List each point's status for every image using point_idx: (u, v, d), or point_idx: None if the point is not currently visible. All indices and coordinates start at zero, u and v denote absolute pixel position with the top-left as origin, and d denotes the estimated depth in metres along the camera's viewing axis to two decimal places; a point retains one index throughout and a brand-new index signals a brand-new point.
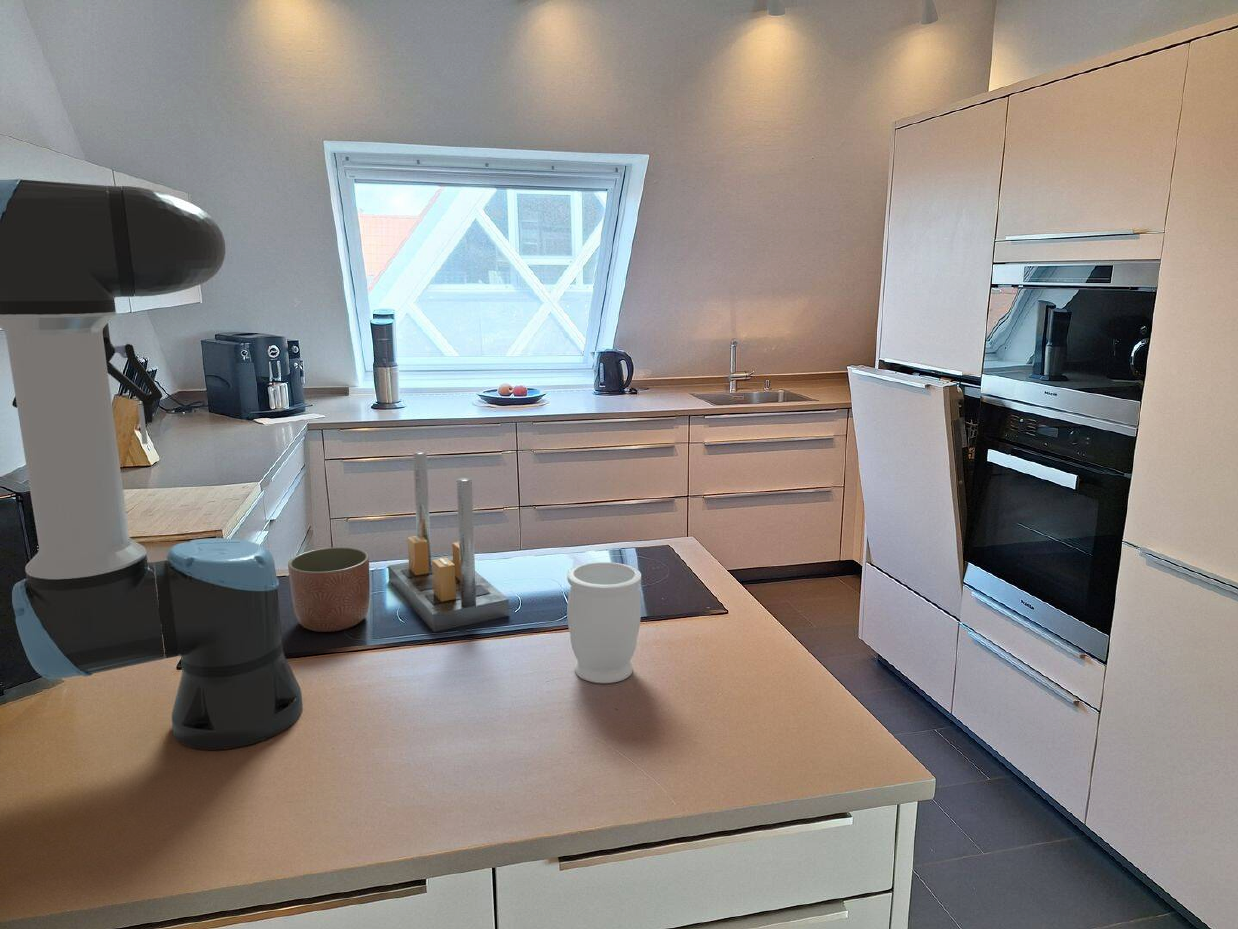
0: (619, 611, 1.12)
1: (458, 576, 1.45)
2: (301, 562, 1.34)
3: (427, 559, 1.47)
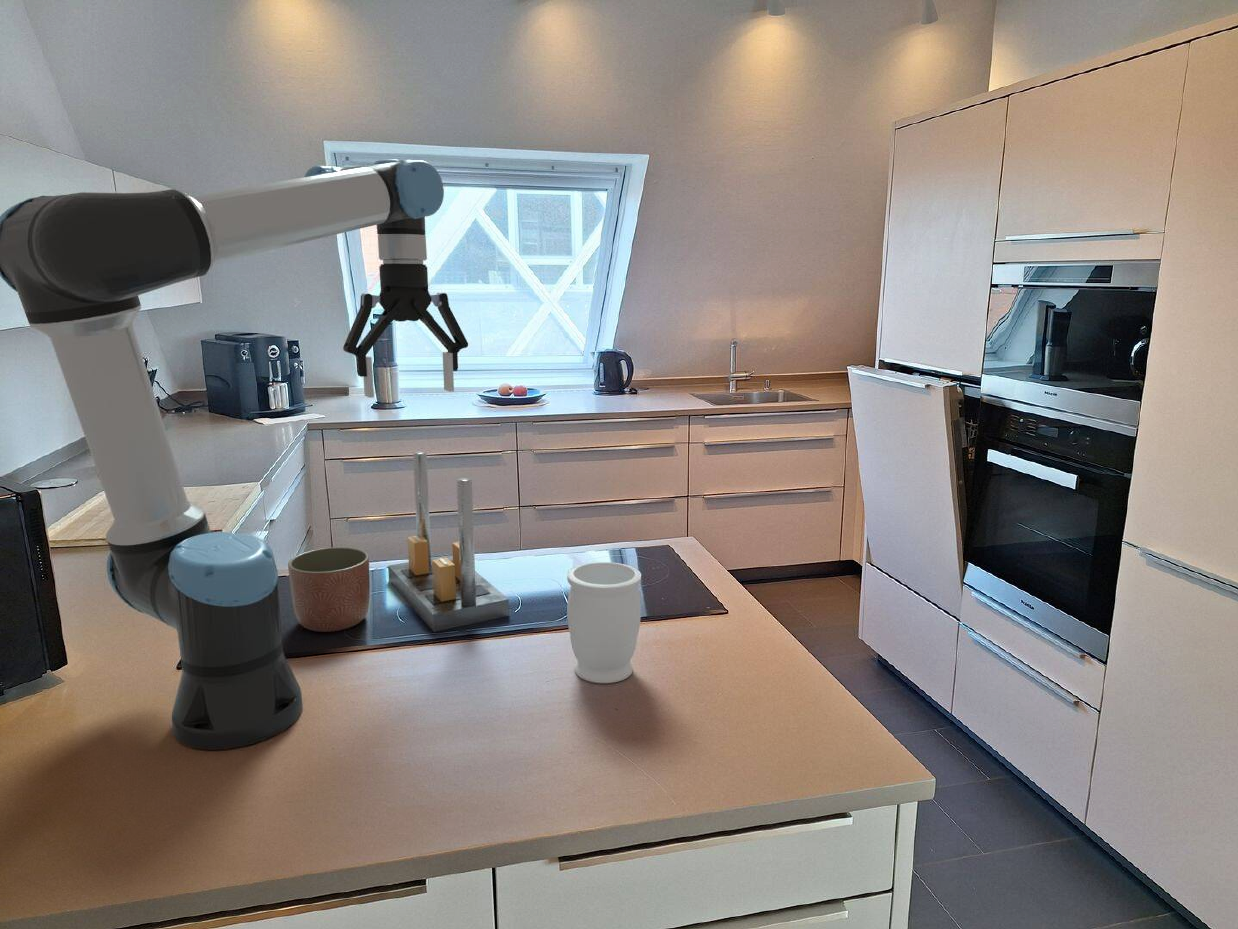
0: (619, 611, 1.12)
1: (458, 576, 1.45)
2: (301, 562, 1.34)
3: (427, 559, 1.47)
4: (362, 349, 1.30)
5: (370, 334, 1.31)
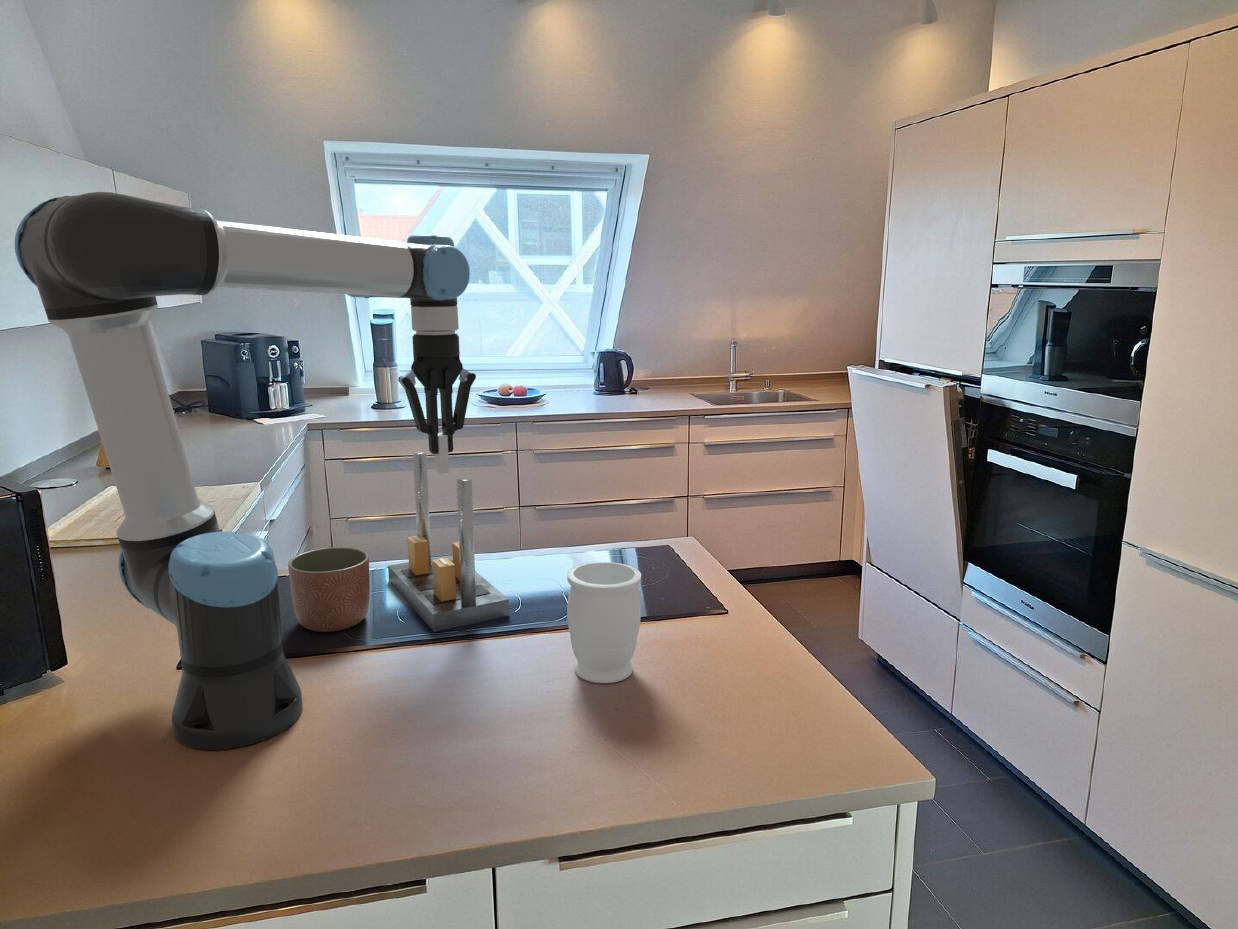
0: (619, 611, 1.12)
1: (458, 576, 1.45)
2: (301, 562, 1.34)
3: (427, 559, 1.47)
4: (433, 429, 1.37)
5: (429, 413, 1.37)
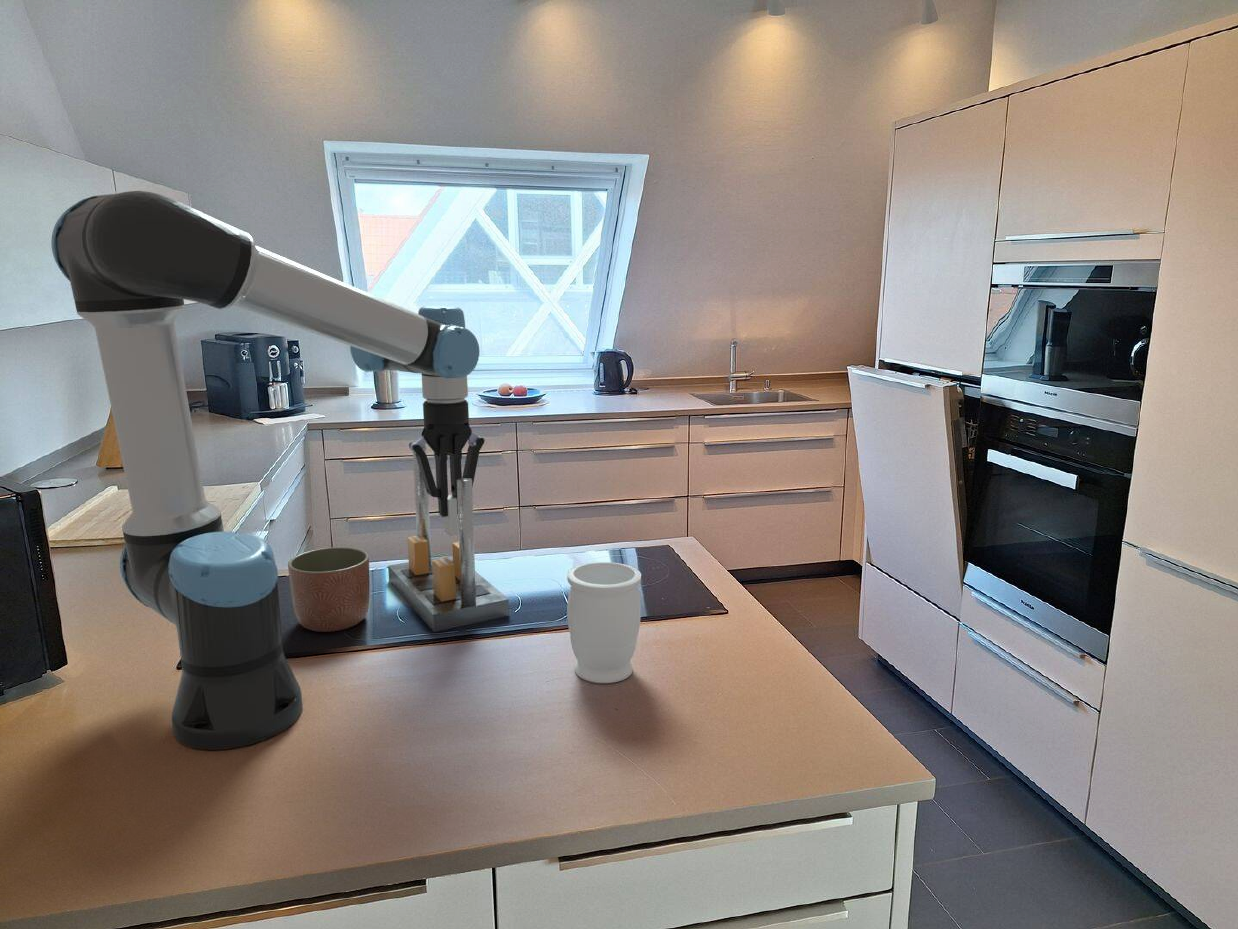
0: (619, 611, 1.12)
1: (458, 576, 1.45)
2: (301, 562, 1.34)
3: (427, 559, 1.47)
4: (442, 493, 1.40)
5: (439, 477, 1.40)
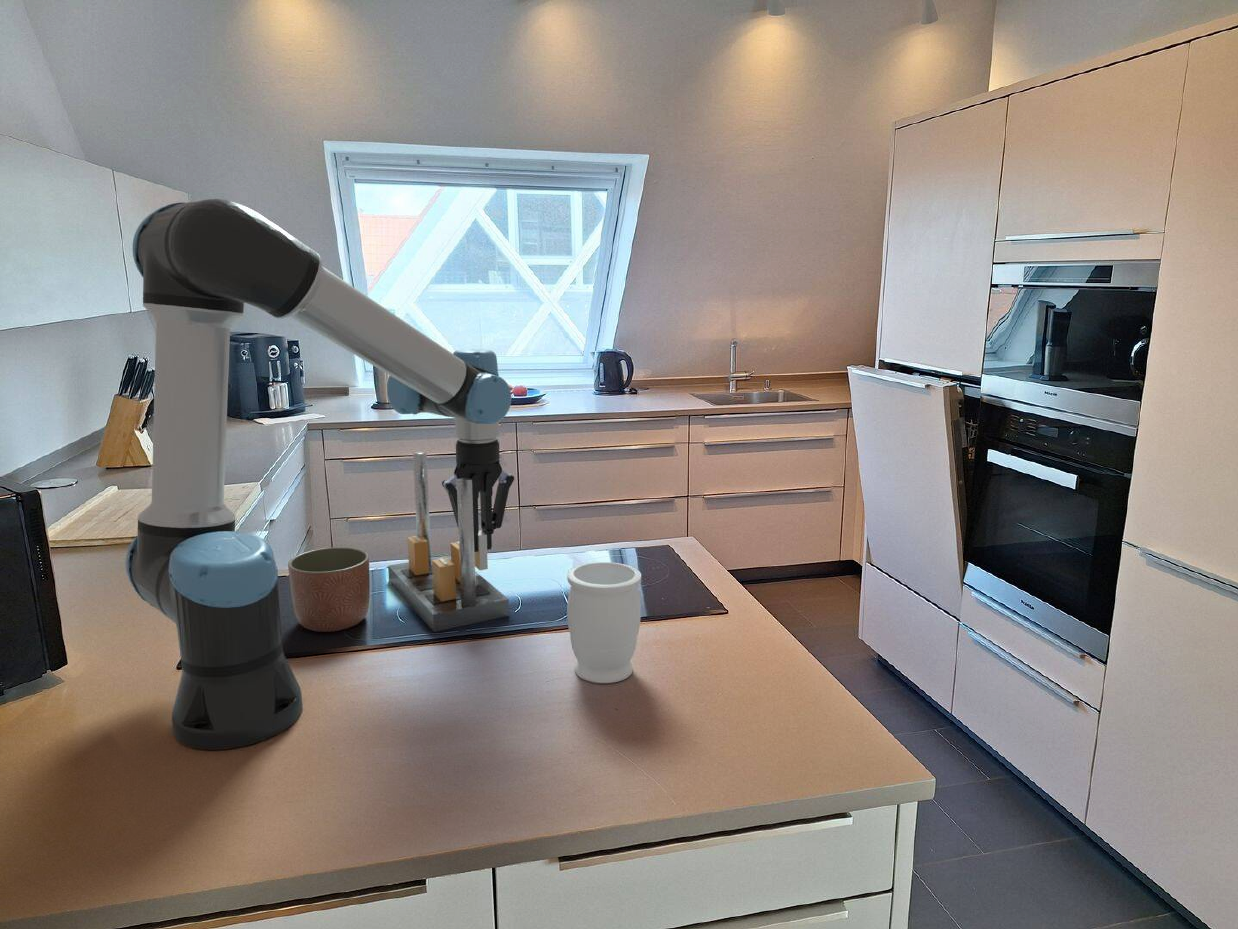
0: (619, 611, 1.12)
1: (456, 576, 1.45)
2: (301, 562, 1.34)
3: (427, 559, 1.47)
4: None
5: None
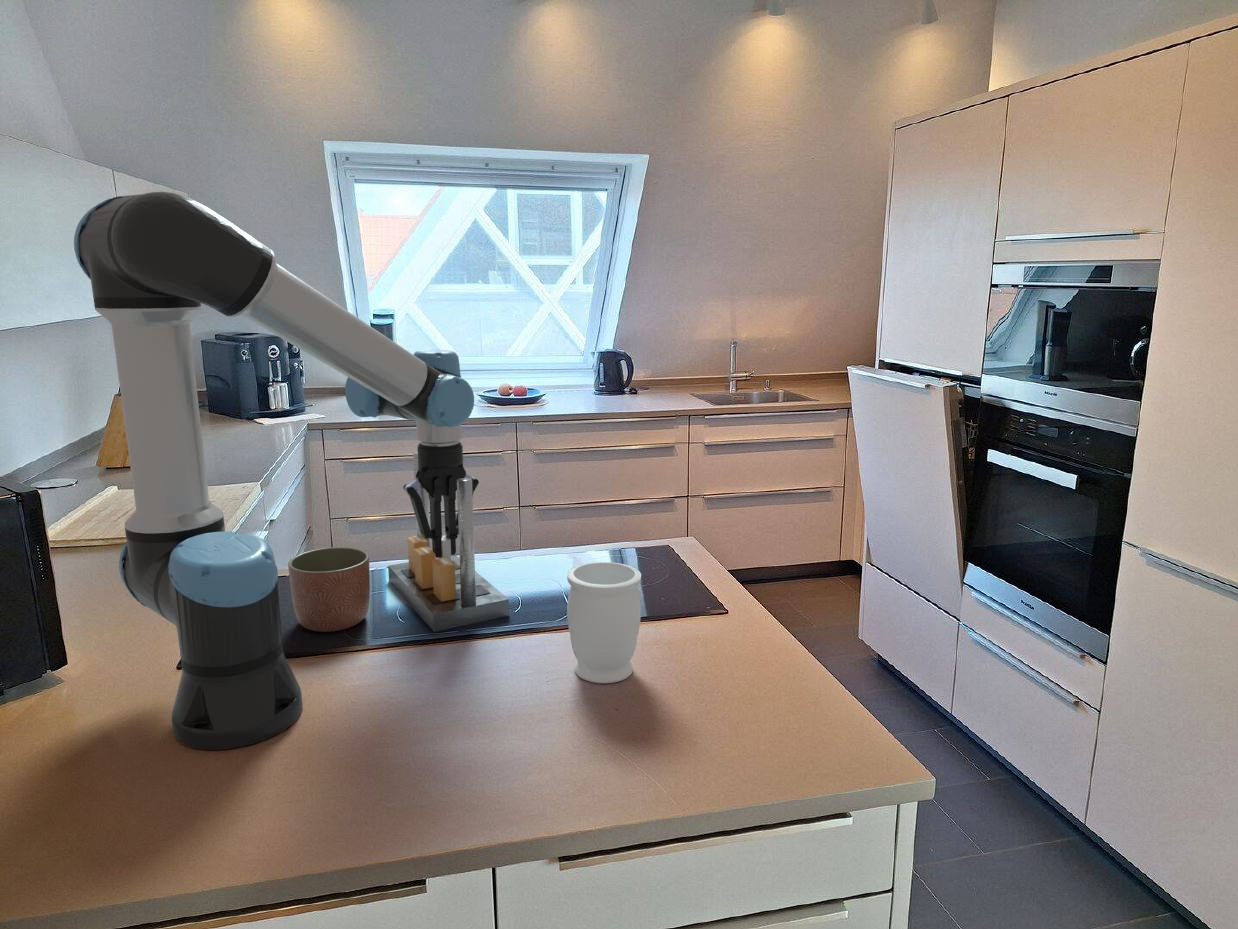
0: (619, 611, 1.12)
1: (419, 583, 1.42)
2: (301, 562, 1.34)
3: None
4: (436, 535, 1.41)
5: (433, 518, 1.41)
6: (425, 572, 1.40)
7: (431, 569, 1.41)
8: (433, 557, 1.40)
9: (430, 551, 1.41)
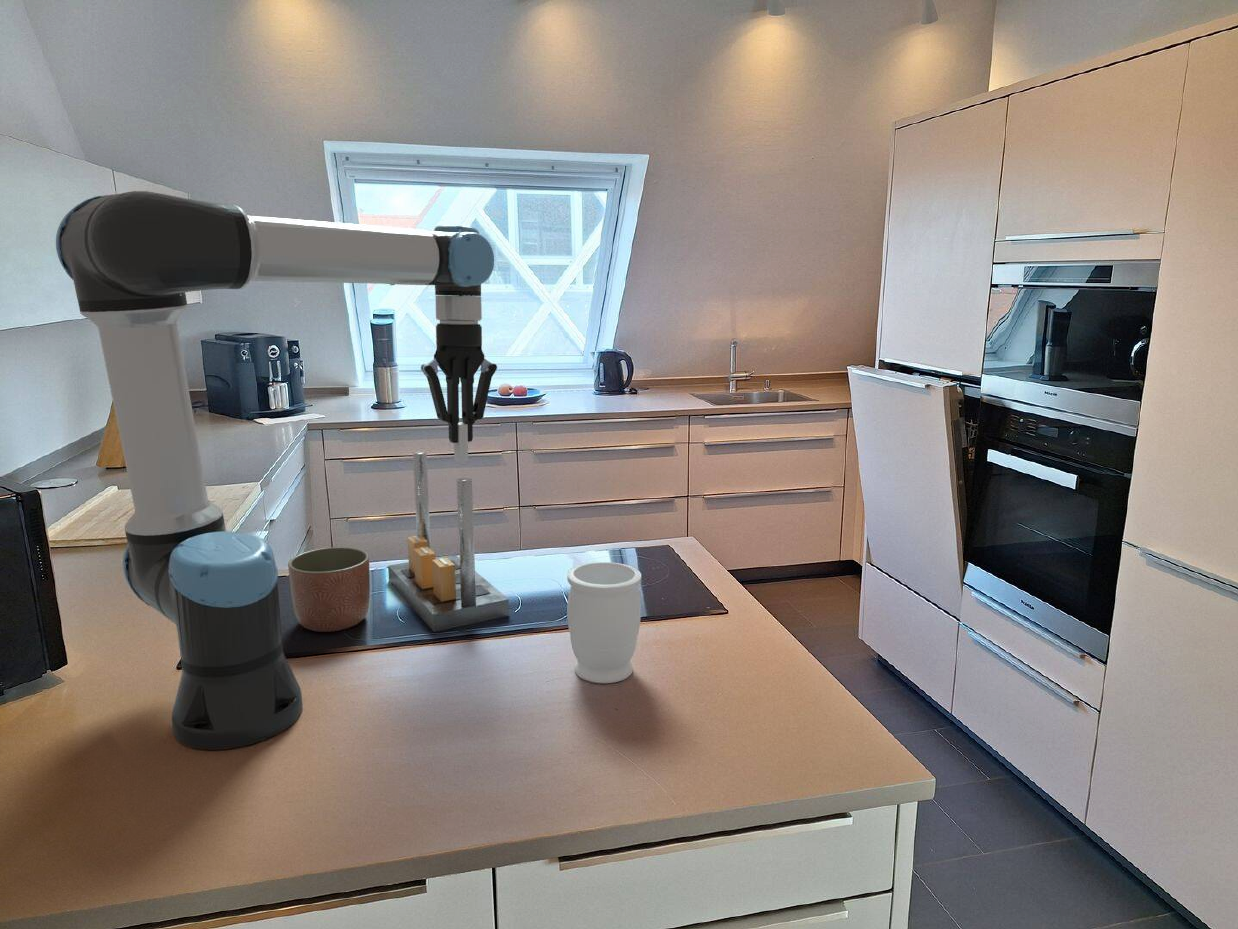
0: (619, 611, 1.12)
1: (419, 583, 1.42)
2: (301, 562, 1.34)
3: None
4: (453, 418, 1.38)
5: (450, 402, 1.38)
6: (424, 572, 1.40)
7: (431, 569, 1.41)
8: (433, 557, 1.40)
9: (430, 551, 1.41)
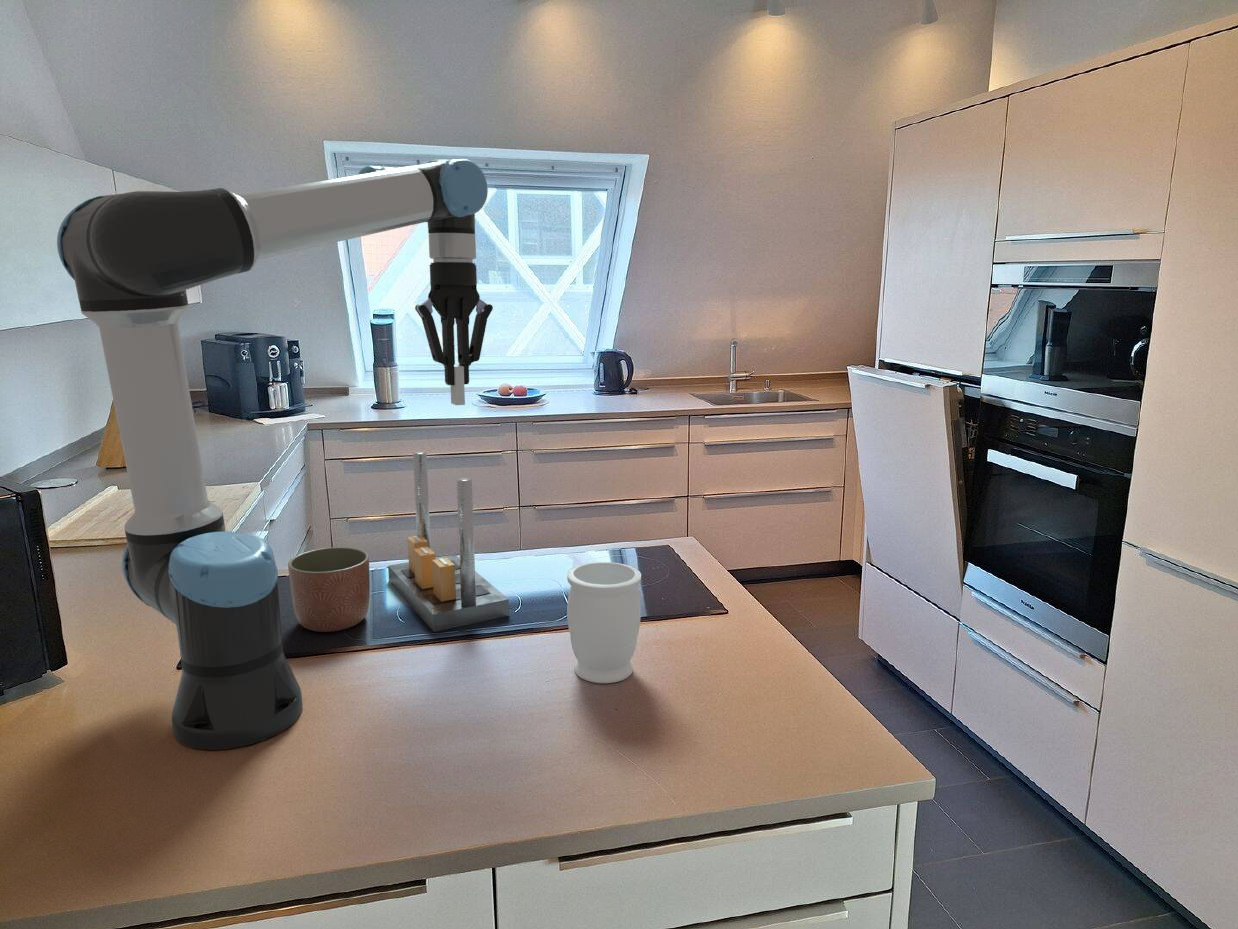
0: (619, 611, 1.12)
1: (419, 583, 1.42)
2: (301, 562, 1.34)
3: None
4: (449, 360, 1.36)
5: (446, 343, 1.36)
6: (424, 572, 1.40)
7: (431, 569, 1.41)
8: (433, 557, 1.40)
9: (430, 551, 1.41)
